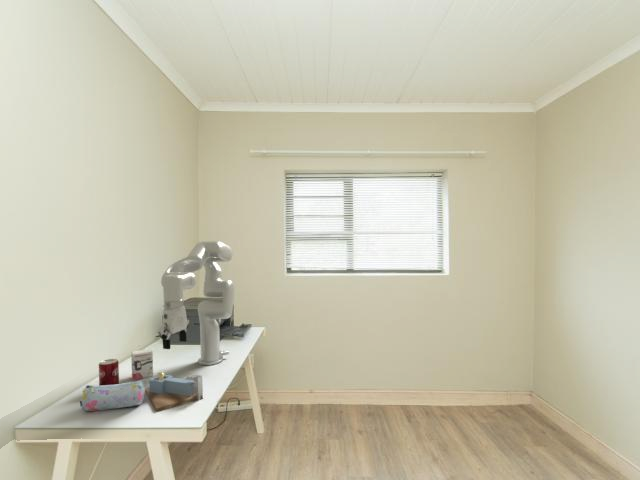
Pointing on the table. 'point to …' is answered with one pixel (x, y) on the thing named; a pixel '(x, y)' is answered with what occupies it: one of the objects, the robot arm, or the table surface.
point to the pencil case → (112, 396)
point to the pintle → (160, 376)
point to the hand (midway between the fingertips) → (175, 344)
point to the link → (171, 386)
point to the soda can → (109, 372)
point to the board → (168, 399)
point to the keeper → (197, 385)
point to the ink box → (142, 363)
